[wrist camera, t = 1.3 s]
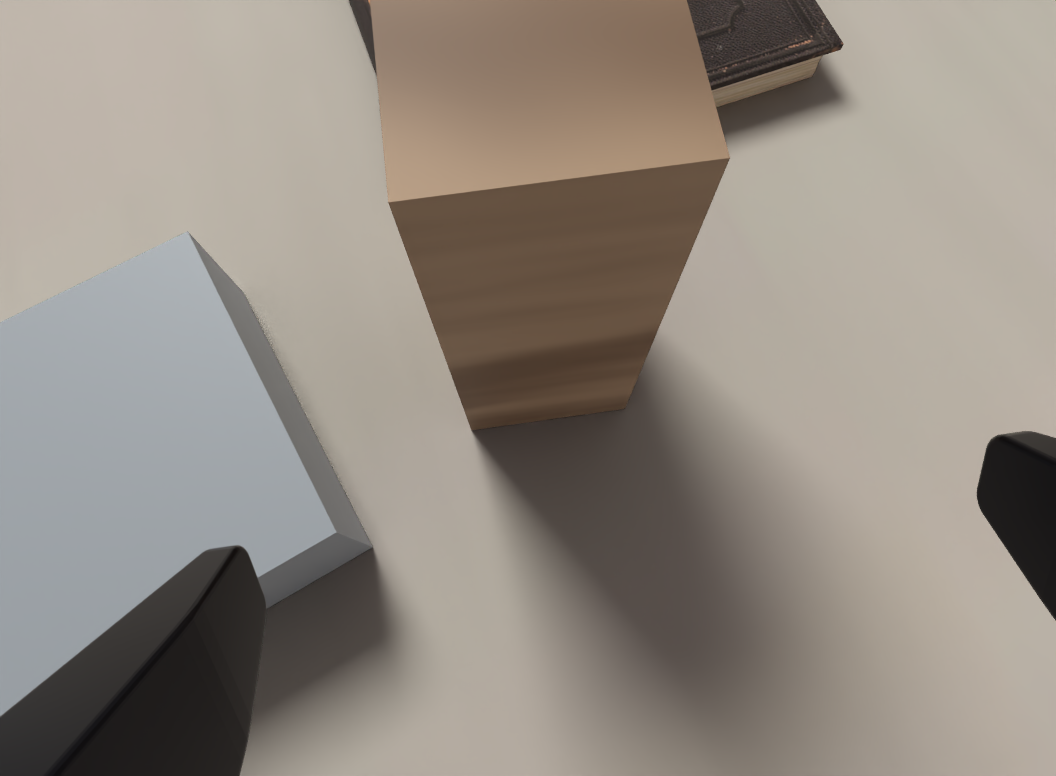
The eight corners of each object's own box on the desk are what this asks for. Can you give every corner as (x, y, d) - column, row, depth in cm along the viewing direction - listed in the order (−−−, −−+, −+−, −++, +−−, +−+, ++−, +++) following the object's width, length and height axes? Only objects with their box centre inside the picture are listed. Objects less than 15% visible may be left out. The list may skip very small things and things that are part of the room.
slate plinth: (373, 547, 21) (336, 532, 17) (58, 730, 20) (-57, 758, 16) (243, 292, 24) (187, 231, 20) (-41, 436, 22) (-160, 399, 19)
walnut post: (624, 409, 22) (729, 157, 10) (471, 430, 22) (388, 202, 10) (598, 271, 24) (661, -92, 12) (455, 290, 24) (364, -57, 12)
